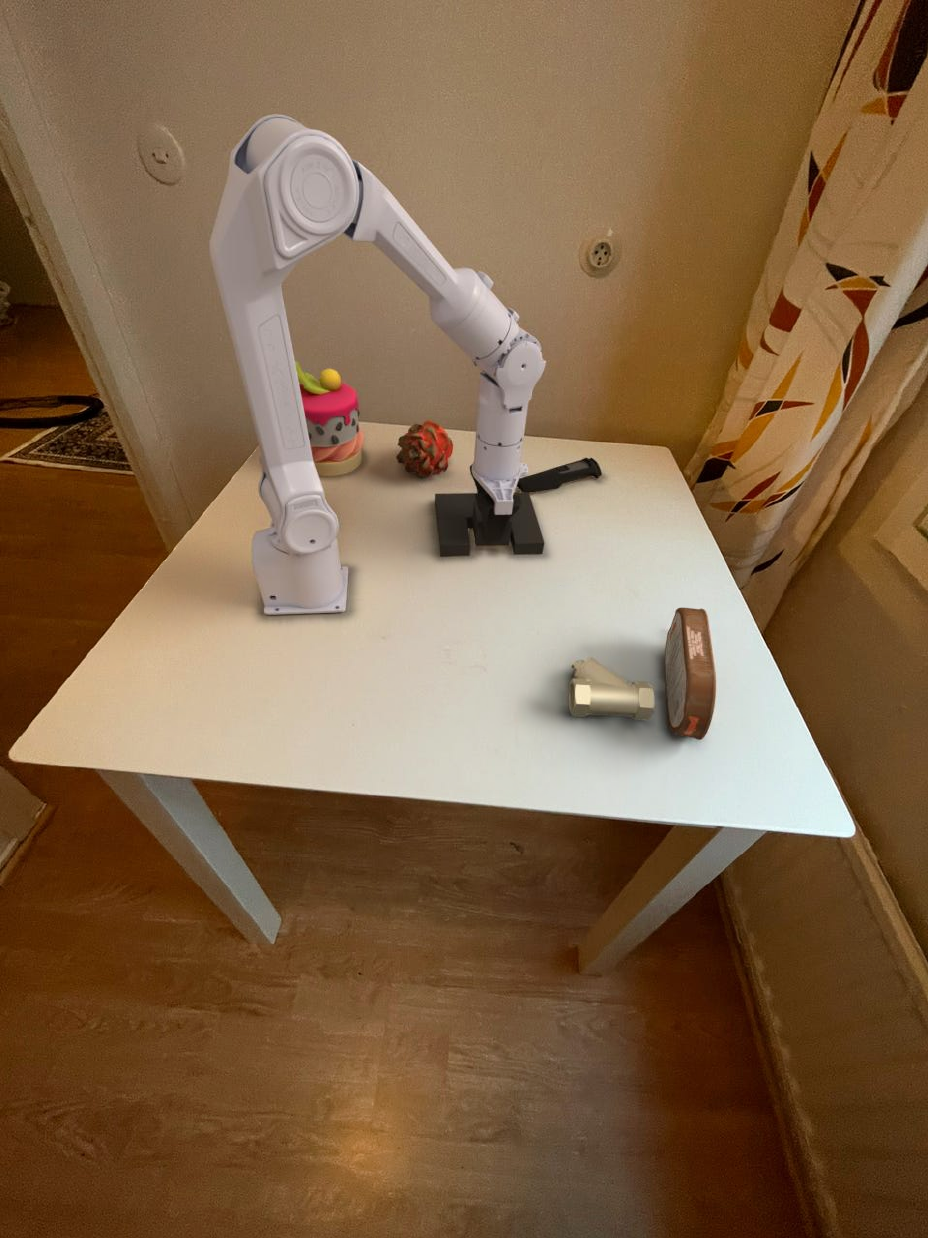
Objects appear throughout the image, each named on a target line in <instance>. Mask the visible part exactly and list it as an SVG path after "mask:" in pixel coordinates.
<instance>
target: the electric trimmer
mask: <svg viewBox="0 0 928 1238" xmlns="http://www.w3.org/2000/svg"><path fill="white" fill-rule="evenodd" d="M602 476H603V472H602V469H601V466H600V464H599V463H598V461H597V460H596V459H594V458H593V457H589V458H588V457H583V458H582V459H579V460H575V461H573V462H569V463H565V464H562V465H559V466H555V467H553V468H552V467H551V468H549V469H547V470H543V471H540V472H537V473H533V474H530V475H529V474H528V475H527V476H522V477H520V478H519V481H518V483H517V486H516V488H517V489H519V490H520V492H529V494H532V493H539V492H546V491H552V490H558V489H559V488H560V487H561V486H562V485H564V484H568V483H572V482H576V481H580V480H584V479H588V478H591V477H593V478H595V479H596V480H597V479H599V478H600V477H602Z"/></svg>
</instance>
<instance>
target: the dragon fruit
mask: <svg viewBox="0 0 928 1238" xmlns="http://www.w3.org/2000/svg"><path fill="white" fill-rule="evenodd" d="M397 446H398V447H400V448H401V449H400V451H399V453H398V454H396V461H397V463H398V464H400V465H401V464H402V465H404V470H405V471H406V472H407V473H411V474H415V475H416V476H419V477H422V479H428V478H430V477H431V476H432V475H433V473H437V474H439V473H441V472H443V473H445V472H447V470H448V469H449V459H450V458H451V456H452V455H453V453H454V443H453V440H452V439H451V437H449V434H448V433H447V432H446V430H445V429H444V426H442V425H441V424H440V423H438V422H435V421H433V420H431V419H427V420H425V421H424V422H423V423H422V424H419V423H414V424H413V425H411V426H410V427H409V428H408V429H407V432H406V433H405V434H404V435H402V436H399V438H398V442H397Z"/></svg>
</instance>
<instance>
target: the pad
mask: <svg viewBox="0 0 928 1238" xmlns="http://www.w3.org/2000/svg"><path fill="white" fill-rule="evenodd" d="M472 528H473V529H472V534H473V539H474V545H475V547H507V546H510V544H511V541H510V535H511V528H512V519H510V521H509V523H508V525H507V527H506V530H505V532H504V534H503V537H502V539H501V540H500V541H486V540H485V536H484V531H483V519H482V515H481V512H480V510H479V509H478V506H477V504H476V502H474V505H473V519H472Z"/></svg>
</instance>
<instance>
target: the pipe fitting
mask: <svg viewBox="0 0 928 1238" xmlns="http://www.w3.org/2000/svg"><path fill="white" fill-rule="evenodd" d="M571 669H572V674H573V678H572V679H571V680H570V682H569V685H568V693H567V707H568V711H569V713H570V715H571V716H572V717H584V718H587V716H588V715H595V716H596V715H599V716H616V717H632V718H633V719H634V720H639V721H649V720H650V719H651V718H652V716H653V714H654V712H655V711H654V710H655V692H654V688H653V686H652V685H651V684H650V683H648V682H643V681H633V682H632V683H630V682H628V681H627V680H625V679H624V678H622V677H621V676H620V675H618V674H617V673H615V672H614V671H613V670H611V669H609V668H608V667H607V666H605V665H603V664H602V663H601V662H599V661H598V660H596V659H594V658H593V657H588V658H586V659H585V660H584V659H580V660H575V661H573V663H572V664H571Z"/></svg>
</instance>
